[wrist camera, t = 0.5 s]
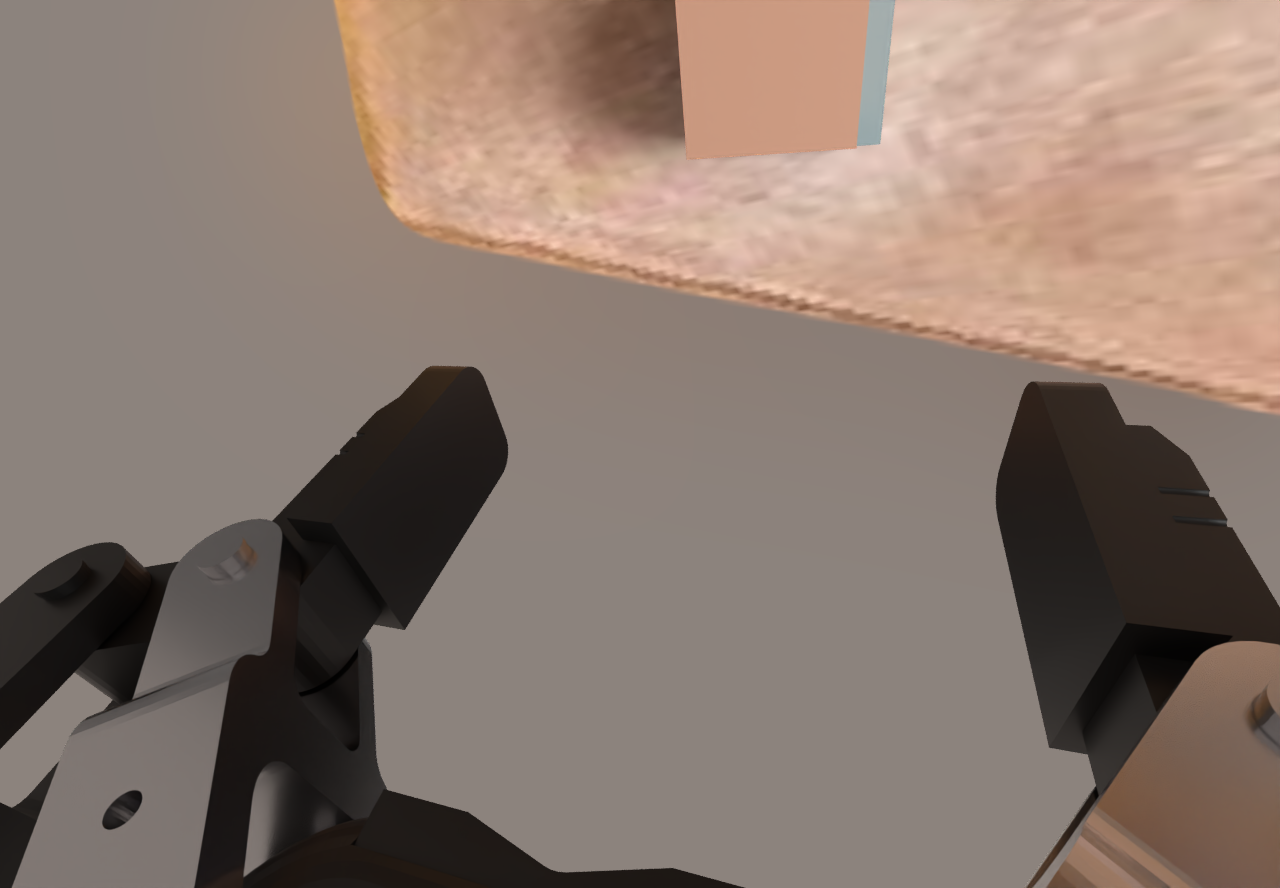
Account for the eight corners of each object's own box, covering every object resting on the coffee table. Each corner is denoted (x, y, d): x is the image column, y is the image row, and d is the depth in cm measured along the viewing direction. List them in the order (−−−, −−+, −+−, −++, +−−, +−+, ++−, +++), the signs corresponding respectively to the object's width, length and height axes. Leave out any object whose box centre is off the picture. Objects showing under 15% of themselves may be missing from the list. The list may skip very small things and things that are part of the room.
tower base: (694, -72, 25) (673, -73, 22) (900, -110, 23) (907, -117, 20) (706, 136, 30) (690, 157, 27) (877, 121, 28) (880, 144, 25)
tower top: (700, -50, 23) (671, -45, 19) (871, -78, 21) (876, -79, 17) (709, 126, 26) (686, 159, 23) (855, 114, 25) (856, 148, 21)
